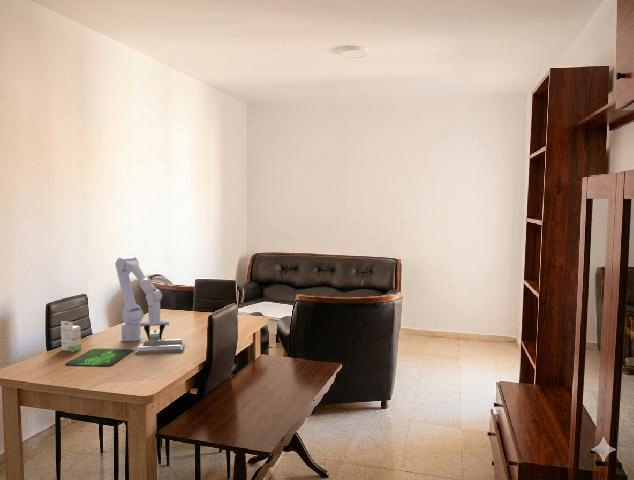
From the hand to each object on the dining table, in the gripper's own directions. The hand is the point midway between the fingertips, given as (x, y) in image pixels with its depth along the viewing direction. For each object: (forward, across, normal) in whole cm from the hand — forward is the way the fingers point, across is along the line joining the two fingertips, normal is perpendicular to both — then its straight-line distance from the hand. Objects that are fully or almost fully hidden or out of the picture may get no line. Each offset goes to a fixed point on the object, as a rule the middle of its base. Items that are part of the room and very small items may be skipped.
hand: (154, 339), depth 267 cm
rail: (+1, +4, -12) cm, 13 cm away
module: (+2, 0, 0) cm, 2 cm away
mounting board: (+2, +4, -12) cm, 13 cm away
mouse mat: (+3, -22, -20) cm, 30 cm away
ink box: (+2, -39, -5) cm, 39 cm away
